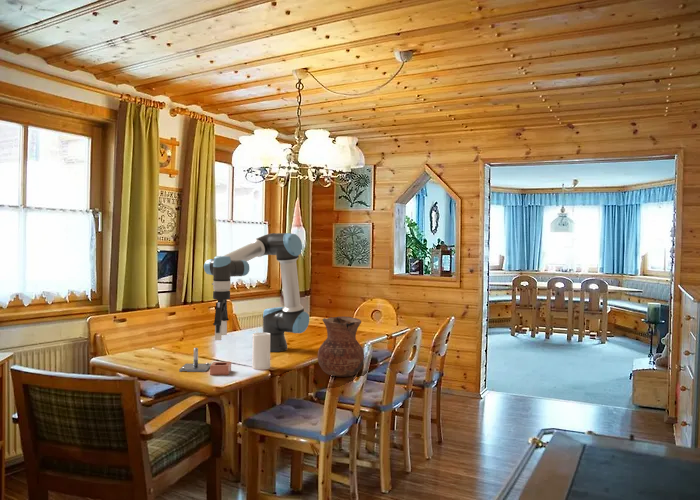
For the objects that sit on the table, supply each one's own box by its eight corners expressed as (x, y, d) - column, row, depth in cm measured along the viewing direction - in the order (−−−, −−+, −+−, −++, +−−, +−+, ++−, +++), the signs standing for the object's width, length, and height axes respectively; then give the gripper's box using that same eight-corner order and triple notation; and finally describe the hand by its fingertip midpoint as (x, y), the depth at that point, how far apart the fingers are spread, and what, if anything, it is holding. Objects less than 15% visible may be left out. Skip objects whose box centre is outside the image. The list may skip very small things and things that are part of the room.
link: (231, 370, 250) (231, 361, 250) (228, 374, 242) (228, 365, 242) (213, 370, 250) (213, 361, 250) (210, 374, 242) (210, 365, 242)
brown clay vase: (370, 378, 240) (370, 321, 240) (323, 380, 234) (324, 322, 234) (355, 366, 261) (356, 314, 261) (312, 369, 255) (313, 315, 255)
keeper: (211, 365, 259) (211, 345, 259) (206, 371, 248) (206, 350, 247) (185, 365, 259) (185, 345, 259) (179, 371, 247) (179, 350, 247)
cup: (253, 365, 261) (253, 332, 260) (270, 365, 261) (270, 332, 261) (251, 369, 252) (251, 335, 252) (269, 369, 253) (269, 335, 253)
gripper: (218, 288, 258) (217, 332, 258) (207, 292, 233) (206, 342, 233) (234, 288, 258) (233, 333, 258) (225, 292, 233) (224, 342, 233)
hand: (220, 337), depth 246 cm, fingers open, 13 cm apart
